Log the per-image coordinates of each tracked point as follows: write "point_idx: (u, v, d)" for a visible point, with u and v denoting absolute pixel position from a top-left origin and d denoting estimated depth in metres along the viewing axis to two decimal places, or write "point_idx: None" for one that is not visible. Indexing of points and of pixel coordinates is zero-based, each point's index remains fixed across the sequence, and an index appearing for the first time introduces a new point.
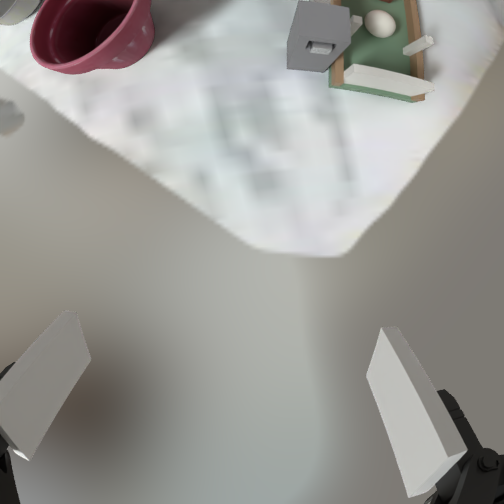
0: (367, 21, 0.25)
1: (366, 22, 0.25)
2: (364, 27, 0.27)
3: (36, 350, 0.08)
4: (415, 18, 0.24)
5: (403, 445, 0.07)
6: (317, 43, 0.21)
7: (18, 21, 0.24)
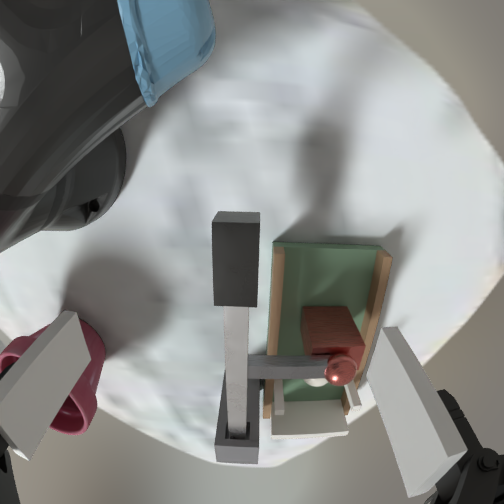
0: None
1: None
2: None
3: (36, 350, 0.08)
4: (365, 351, 0.32)
5: (403, 445, 0.07)
6: None
7: None
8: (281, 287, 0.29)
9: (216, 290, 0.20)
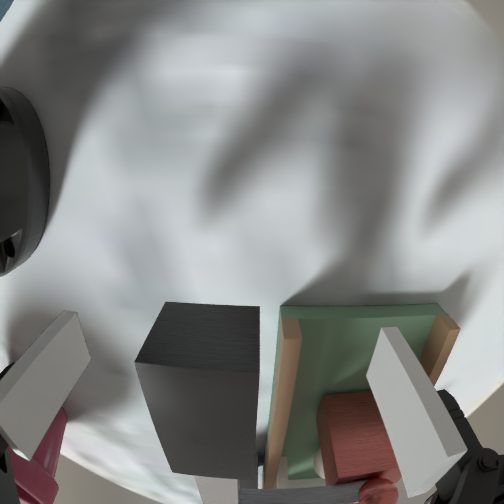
0: (314, 468, 0.20)
1: (313, 466, 0.21)
2: (316, 446, 0.23)
3: (36, 350, 0.08)
4: None
5: (403, 445, 0.07)
6: None
7: None
8: (293, 382, 0.17)
9: (172, 459, 0.08)
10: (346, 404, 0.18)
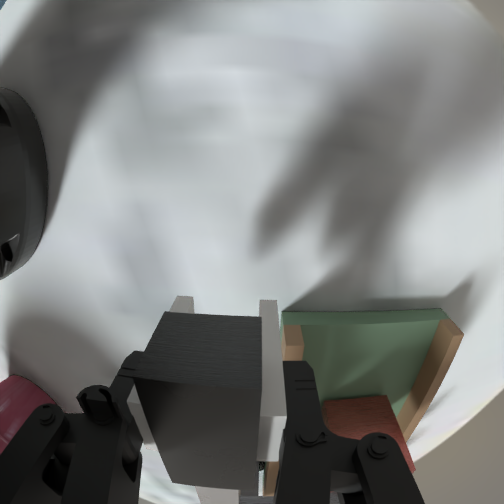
0: None
1: None
2: None
3: None
4: None
5: None
6: None
7: None
8: None
9: (172, 470, 0.08)
10: (348, 410, 0.18)
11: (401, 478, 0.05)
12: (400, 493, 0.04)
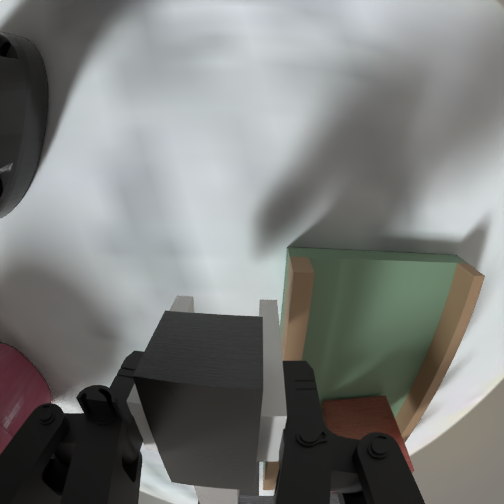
0: None
1: None
2: None
3: None
4: (419, 412, 0.18)
5: None
6: None
7: None
8: (303, 333, 0.15)
9: (171, 470, 0.08)
10: (347, 410, 0.18)
11: (401, 477, 0.05)
12: (400, 493, 0.04)
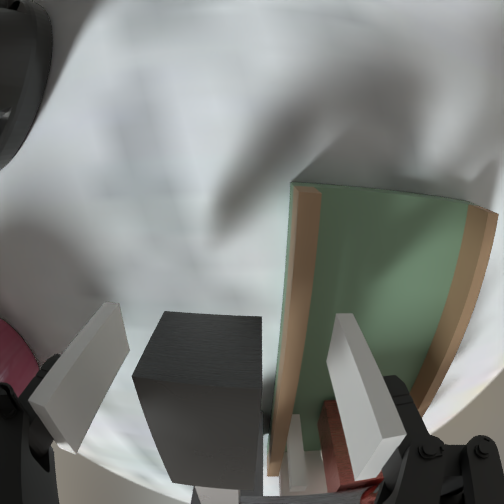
0: None
1: None
2: None
3: (83, 340, 0.09)
4: (438, 378, 0.16)
5: (351, 427, 0.08)
6: None
7: None
8: (312, 267, 0.14)
9: (171, 470, 0.08)
10: None
11: (495, 477, 0.04)
12: (493, 490, 0.03)
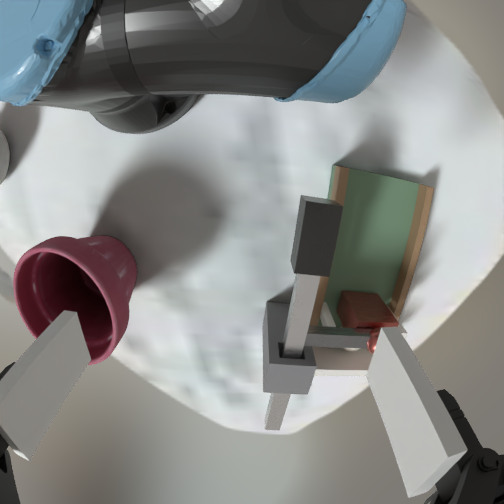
0: None
1: None
2: None
3: (36, 350, 0.08)
4: (407, 281, 0.33)
5: (403, 445, 0.07)
6: (269, 427, 0.32)
7: None
8: (343, 200, 0.30)
9: (299, 259, 0.24)
10: (356, 295, 0.34)
11: None
12: None
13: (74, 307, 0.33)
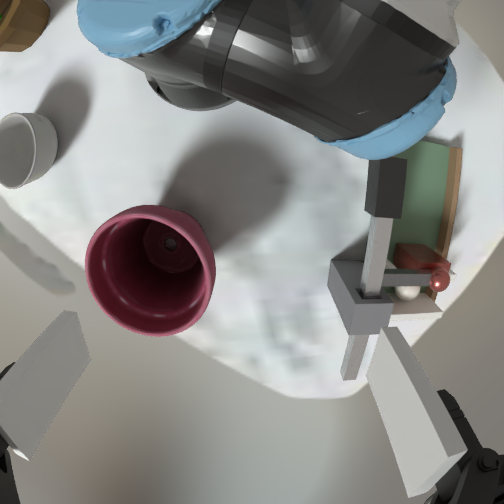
0: None
1: None
2: None
3: (36, 350, 0.08)
4: (449, 231, 0.35)
5: (403, 445, 0.07)
6: (346, 377, 0.35)
7: (37, 178, 0.35)
8: None
9: (377, 204, 0.26)
10: (409, 246, 0.37)
11: None
12: None
13: (143, 283, 0.37)
